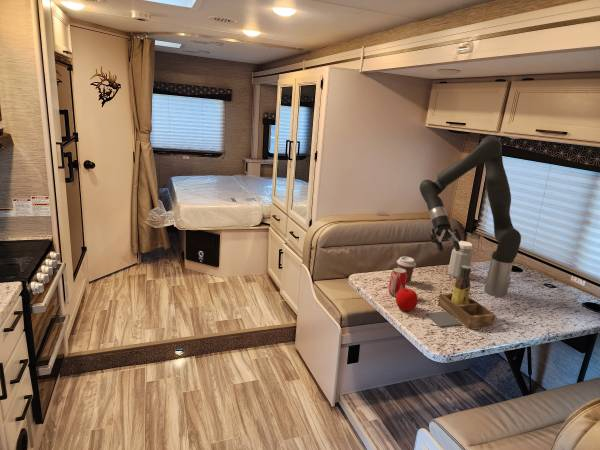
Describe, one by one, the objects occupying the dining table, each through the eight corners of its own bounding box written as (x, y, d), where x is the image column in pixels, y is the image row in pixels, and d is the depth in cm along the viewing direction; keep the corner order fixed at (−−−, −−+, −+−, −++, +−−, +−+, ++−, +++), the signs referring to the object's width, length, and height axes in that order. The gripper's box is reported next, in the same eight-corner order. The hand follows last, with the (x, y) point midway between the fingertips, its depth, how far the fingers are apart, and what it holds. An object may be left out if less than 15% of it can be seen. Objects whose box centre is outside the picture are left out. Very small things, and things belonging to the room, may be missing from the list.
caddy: (460, 302, 177) (462, 292, 175) (493, 326, 158) (495, 315, 157) (437, 304, 173) (439, 294, 172) (468, 328, 155) (470, 317, 153)
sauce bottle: (463, 314, 166) (472, 271, 160) (448, 310, 169) (456, 267, 163) (466, 308, 171) (475, 266, 165) (451, 304, 174) (460, 262, 168)
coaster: (445, 312, 166) (446, 311, 166) (461, 325, 157) (461, 323, 157) (425, 314, 164) (425, 313, 163) (439, 327, 154) (440, 325, 154)
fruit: (398, 301, 173) (401, 280, 170) (418, 307, 169) (422, 286, 166) (391, 309, 166) (394, 287, 163) (412, 316, 161) (416, 294, 158)
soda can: (404, 298, 176) (408, 274, 173) (388, 296, 177) (391, 271, 174) (403, 292, 183) (407, 268, 179) (388, 289, 184) (391, 265, 180)
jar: (444, 271, 211) (450, 239, 206) (461, 271, 212) (468, 240, 207) (453, 279, 201) (459, 246, 196) (470, 279, 203) (478, 246, 198)
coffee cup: (403, 276, 200) (406, 254, 197) (416, 283, 193) (420, 261, 189) (390, 279, 196) (393, 256, 192) (403, 286, 188) (407, 263, 185)
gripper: (430, 214, 177) (441, 247, 169) (457, 214, 181) (468, 247, 174) (422, 222, 183) (431, 254, 176) (447, 222, 187) (458, 253, 180)
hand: (450, 250), depth 175 cm, fingers open, 8 cm apart
